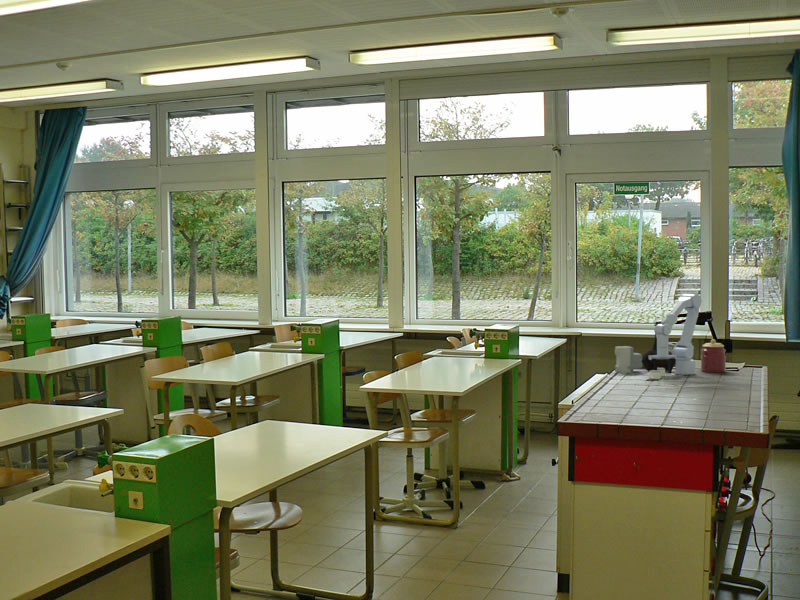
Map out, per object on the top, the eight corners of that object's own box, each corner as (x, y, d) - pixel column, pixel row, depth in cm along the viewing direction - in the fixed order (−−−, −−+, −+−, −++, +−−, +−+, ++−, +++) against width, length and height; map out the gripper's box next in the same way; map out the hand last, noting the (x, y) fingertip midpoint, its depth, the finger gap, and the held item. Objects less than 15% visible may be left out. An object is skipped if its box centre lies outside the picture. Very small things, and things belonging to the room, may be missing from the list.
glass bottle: (635, 371, 453) (634, 321, 452) (659, 369, 461) (659, 319, 460) (657, 375, 437) (657, 323, 436) (682, 372, 445) (682, 321, 444)
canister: (701, 372, 445) (701, 340, 444) (699, 369, 457) (700, 338, 457) (726, 373, 441) (727, 340, 440) (724, 369, 454) (724, 338, 453)
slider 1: (657, 377, 416) (657, 370, 416) (660, 379, 412) (660, 371, 412) (649, 378, 415) (649, 370, 415) (652, 379, 411) (652, 371, 411)
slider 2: (661, 375, 425) (661, 367, 425) (665, 376, 421) (665, 368, 421) (654, 375, 425) (654, 367, 425) (657, 376, 421) (657, 368, 421)
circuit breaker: (644, 375, 437) (644, 347, 437) (618, 375, 438) (618, 347, 437) (641, 373, 445) (640, 346, 444) (614, 373, 445) (614, 346, 445)
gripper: (652, 348, 418) (652, 374, 419) (679, 347, 419) (679, 373, 420) (646, 346, 425) (646, 372, 426) (673, 346, 426) (673, 371, 427)
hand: (662, 373), depth 423 cm, fingers open, 7 cm apart
